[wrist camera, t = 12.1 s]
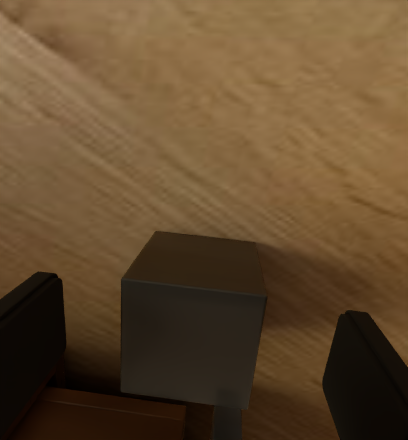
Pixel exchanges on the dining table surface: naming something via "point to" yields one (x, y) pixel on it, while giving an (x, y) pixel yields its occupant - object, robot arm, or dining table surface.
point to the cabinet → (52, 380)
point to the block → (192, 320)
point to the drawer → (113, 418)
